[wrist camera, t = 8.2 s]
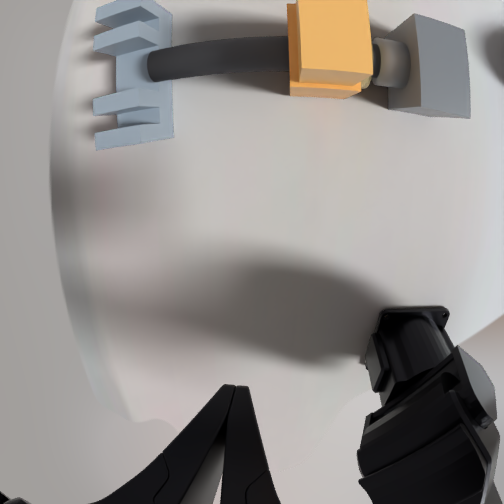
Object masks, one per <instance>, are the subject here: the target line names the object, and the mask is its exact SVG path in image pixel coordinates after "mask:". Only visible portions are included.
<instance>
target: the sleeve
mask: <svg viewBox="0 0 504 504" xmlns="http://www.w3.org/2000/svg"><path fill="white" fill-rule="evenodd" d="M287 18H288V40H289V68H290V96H300V97H322V98H337V99H346V98H348V97H350V96H352V95H354V94H357V93H359V92H361V81H363V80H364V79H366V78H368V77H370V76H371V75H373V61H372V45H371V33H370V23H369V14H368V5H367V0H296V4H287Z"/></svg>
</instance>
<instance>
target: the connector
mask: <svg viewBox="0 0 504 504" xmlns="http://www.w3.org/2000/svg"><path fill="white" fill-rule="evenodd" d="M372 43H373V44H377V45H378V46H379V49H380V53H381V68H380V73H379V75H378V77H377V78H372V77H371V80H372V82H373V84H375V85H380V86H386V87H388V109H389V110H395V111H401V112H407V113H413V114H418V115H423V116H428V117H450V118H467V119H470V112H471V108H470V78H469V64H468V54H467V46H466V38H465V32H464V30H463V29H461V28H458V27H455V26H453V25H450V24H447V23H444V22H441V21H438V20H435V19H432V18H429V17H425V16H422V15H418V14H415V13H414V14H413V15H411V16H410V17H409V18H408V19H407V20H405V21H404V22H403V23H402V24H400V25H399V26H398V27H397V28H396V29H394V30H393V31H392V32H391V33H390V34H389V35H387V36H386V37H385V39H383V38H377V37H376V38H374V39H373V41H372Z"/></svg>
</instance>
